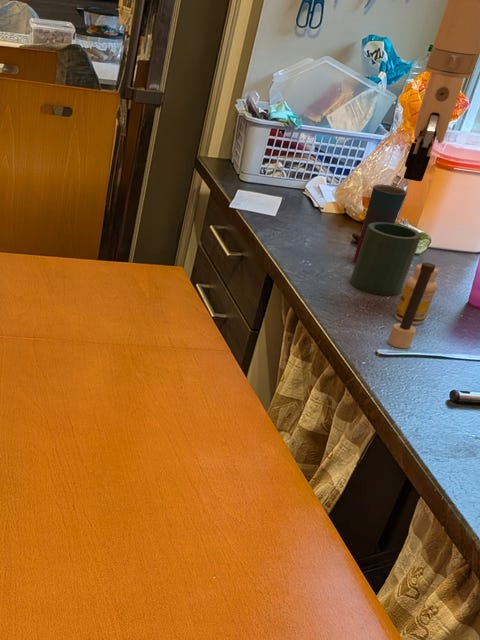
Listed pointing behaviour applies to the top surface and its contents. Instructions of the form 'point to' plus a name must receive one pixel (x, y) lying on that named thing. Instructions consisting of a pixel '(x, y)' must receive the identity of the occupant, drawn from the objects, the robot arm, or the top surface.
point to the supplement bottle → (424, 301)
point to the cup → (382, 208)
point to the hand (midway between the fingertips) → (412, 173)
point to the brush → (411, 311)
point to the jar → (385, 258)
